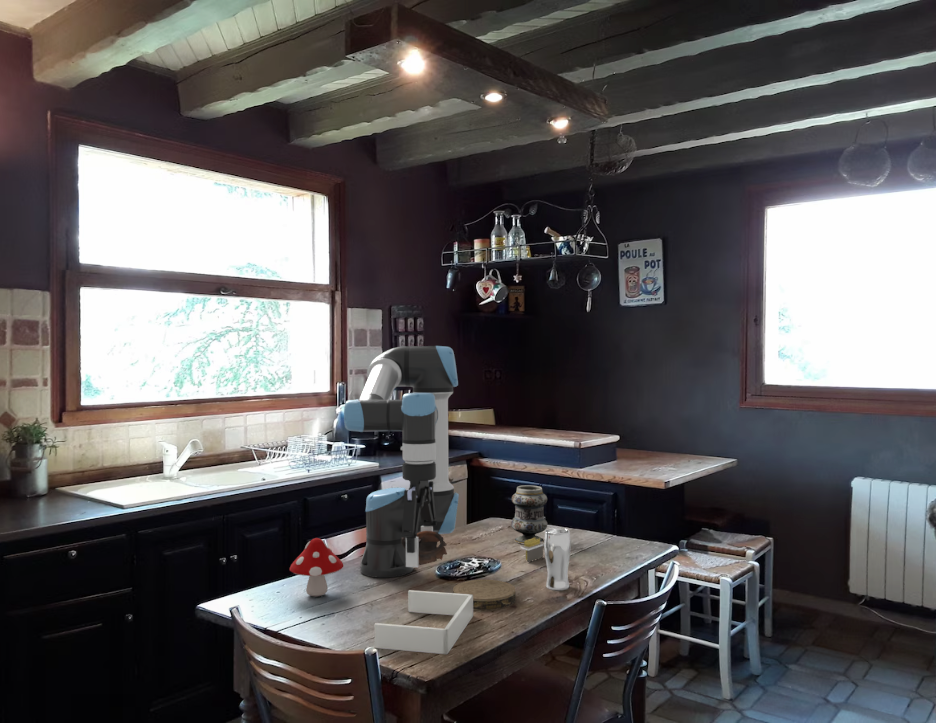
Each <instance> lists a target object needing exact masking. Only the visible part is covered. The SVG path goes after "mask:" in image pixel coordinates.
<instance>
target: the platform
mask: <svg viewBox="0 0 936 723" xmlns="http://www.w3.org/2000/svg"><path fill="white" fill-rule="evenodd" d="M540 538H541V537H540ZM540 538H539V539H536V538H532V539H529V540H526V541H524V544H521V545H520V549H522V550H523V551H525V561H526V560H527V561H526V563H527V562H529V563H531V562H530V561H532V560H535V559H538V558H541V557H543V558H544V542H540ZM541 559H542V558H541ZM538 560H539V559H538ZM535 561H536V560H535ZM532 562H533V561H532Z"/></svg>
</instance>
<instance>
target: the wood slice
mask: <svg viewBox="0 0 936 723" xmlns="http://www.w3.org/2000/svg"><path fill="white" fill-rule="evenodd" d="M452 593H456V594H470V595H473V611H474V610H476V611H492V610H500V609H505V608H507V607H510V606H512V605H514V604H515V602H516V587H515V586H514V585H513V584H511V583H509V582H506V581H503V580H497V579H473V580H472V579H471V580H466V581H462V582H460V583H458V584H455V585H454V586H453V588H452Z"/></svg>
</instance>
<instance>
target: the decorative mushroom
mask: <svg viewBox="0 0 936 723" xmlns="http://www.w3.org/2000/svg"><path fill="white" fill-rule="evenodd" d="M304 546H305V547H304V549H303V551H302V552H301V553H300V554H299V555H298V556H297V557H296V558H295V559H294V561H292V563H291V564H290V567H289V572H291V573H293V574H295V575H298V576H305V577H308V580H307V583H306V584H307V585H306V588H305V591H306V592H305V593H306V594H307V595H308V596H311V597H321V596H324V595H326V594H327V592H328V591H329V590H328V582H327V580H326V577H325V576H326V575H331V574H334V573H337V572H339V571H341V570H342V569H343V568H344V563H343V561H342V560H341V559H340V558H339V557H338V556H337V555H336V554H335V553H334V552H333V550H332V548H331V547H329V546H328V545H327V543H326V542H325V541H324V540H323V539H321V538H318V537H315V538H312V539H311V540H309V541H308V542H307V543H306V545H304Z"/></svg>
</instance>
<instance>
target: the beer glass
mask: <svg viewBox="0 0 936 723" xmlns="http://www.w3.org/2000/svg"><path fill="white" fill-rule="evenodd" d="M570 532H571V531H570V530H569V529H567V528H562V527H561V528H557V527H554V528H553V527H552V528H546V529H545V530H544V546H543V552H544V558H545V563H546V570H547V577H546V578H547V579H546V583H545V585H546V586H545V587H546V588H547V589H548V590H551V591H565V590H569V588H570V583H569V578H568V574H569V572H568V570H569V563H570V559H571V533H570Z"/></svg>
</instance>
